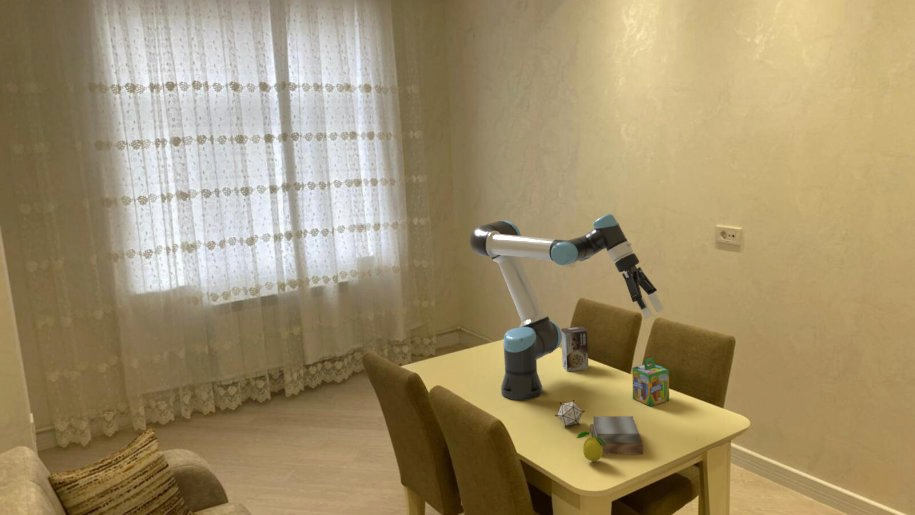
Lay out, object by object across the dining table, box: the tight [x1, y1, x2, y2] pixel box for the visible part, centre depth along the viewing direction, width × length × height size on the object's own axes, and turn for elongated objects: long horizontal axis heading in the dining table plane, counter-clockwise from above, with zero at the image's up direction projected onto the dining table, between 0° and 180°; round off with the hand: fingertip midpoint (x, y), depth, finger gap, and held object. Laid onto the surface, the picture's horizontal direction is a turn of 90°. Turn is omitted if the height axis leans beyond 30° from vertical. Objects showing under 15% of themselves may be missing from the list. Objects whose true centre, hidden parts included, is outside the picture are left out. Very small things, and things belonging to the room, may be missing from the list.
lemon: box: [576, 429, 607, 463], centre depth 191 cm, size 7×6×10 cm
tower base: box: [589, 415, 644, 455], centre depth 202 cm, size 14×14×6 cm
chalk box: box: [631, 357, 670, 407], centre depth 232 cm, size 9×9×15 cm
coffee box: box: [560, 325, 589, 372], centre depth 267 cm, size 9×6×16 cm
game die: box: [554, 399, 586, 429], centre depth 216 cm, size 9×8×10 cm
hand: (655, 314), depth 220 cm, fingers open, 13 cm apart
